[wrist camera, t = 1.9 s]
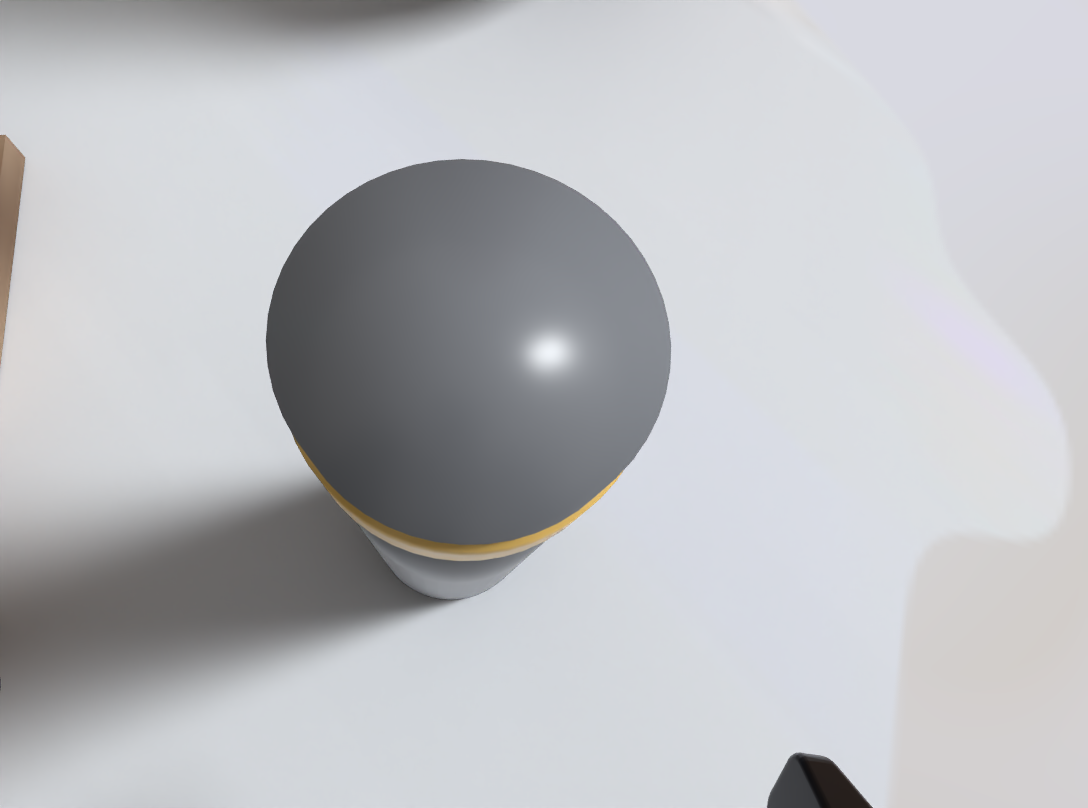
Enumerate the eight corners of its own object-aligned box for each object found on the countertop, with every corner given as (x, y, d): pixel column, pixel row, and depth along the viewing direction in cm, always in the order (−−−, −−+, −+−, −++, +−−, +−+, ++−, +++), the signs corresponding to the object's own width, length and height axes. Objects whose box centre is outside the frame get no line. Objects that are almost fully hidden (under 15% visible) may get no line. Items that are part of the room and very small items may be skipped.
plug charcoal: (536, 593, 19) (706, 519, 7) (377, 609, 19) (258, 559, 6) (521, 443, 20) (645, 154, 8) (372, 453, 20) (261, 155, 8)
